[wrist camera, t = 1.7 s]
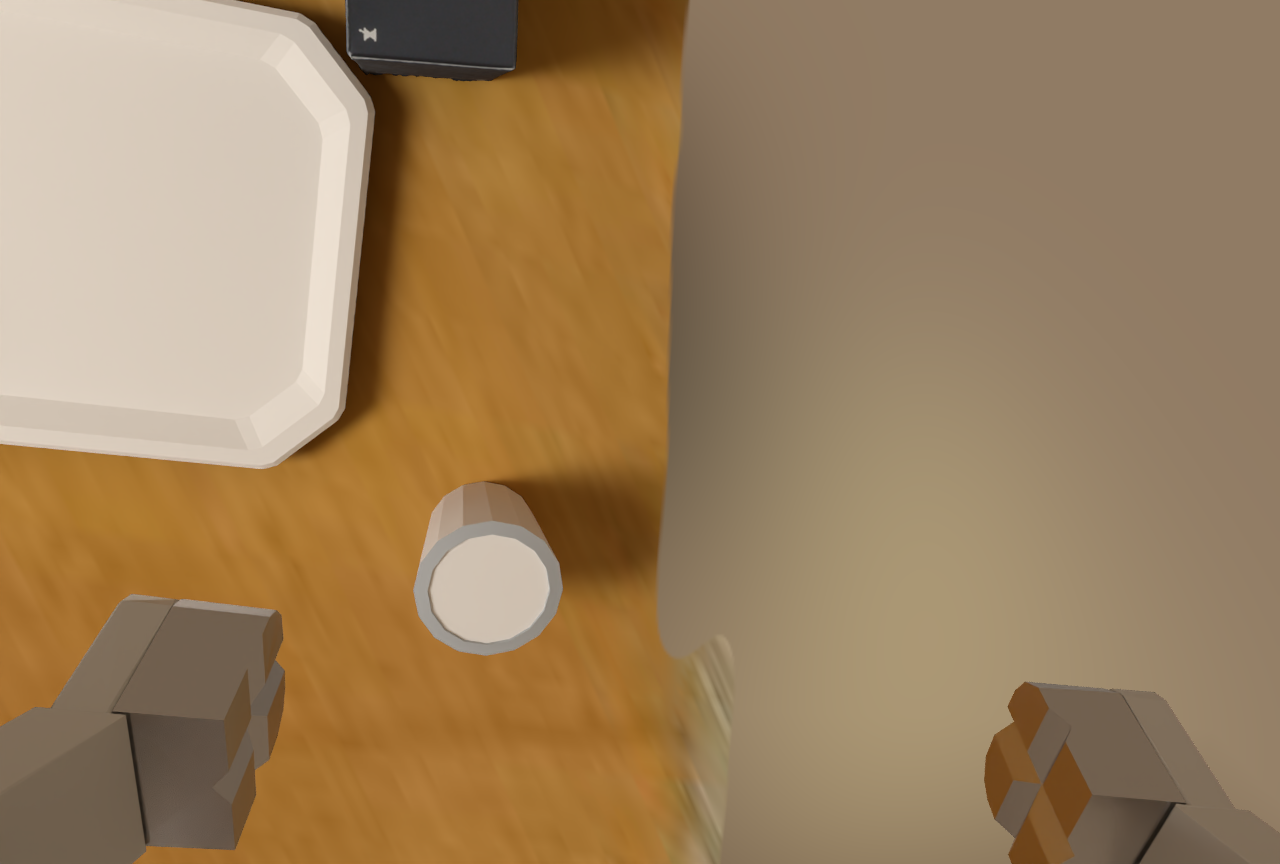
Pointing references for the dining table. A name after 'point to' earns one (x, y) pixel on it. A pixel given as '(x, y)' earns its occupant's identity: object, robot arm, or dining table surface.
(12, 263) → the plate
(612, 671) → the dining table surface
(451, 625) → the white cup
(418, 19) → the small box
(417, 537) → the dining table surface
